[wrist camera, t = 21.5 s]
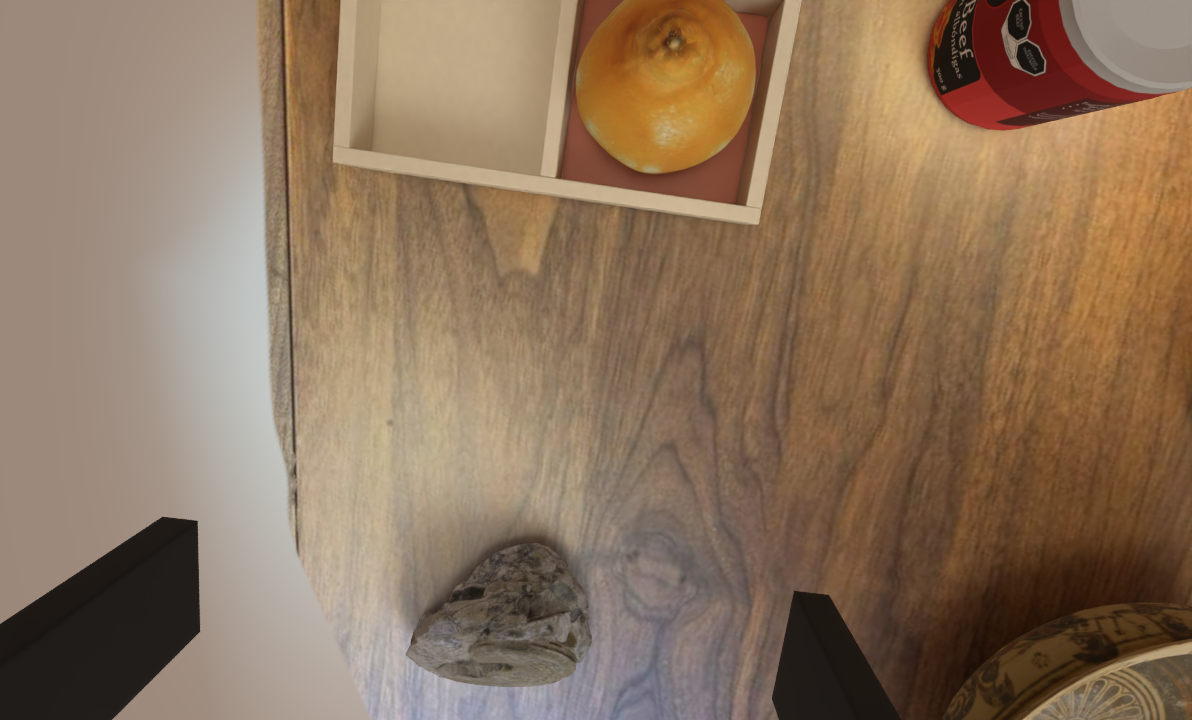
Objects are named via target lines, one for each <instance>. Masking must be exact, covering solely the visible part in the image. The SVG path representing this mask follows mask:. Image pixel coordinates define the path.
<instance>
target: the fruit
mask: <svg viewBox="0 0 1192 720" xmlns="http://www.w3.org/2000/svg"><path fill="white" fill-rule="evenodd" d="M755 76H756V67H755V55H754V49H753V45H752V42H751V39H750V37H749V35H748V33H747V31H746V29H745V27H744V25H743V23H742V22H741V20H740V18H739V17H738V15H737V14H736V13H735V12H734V10H733V9H732V8H731V7H730V6H729V5H728V4H727V3H726V2H725V1H724V0H625V1H623V2H622V3H621V4H620V5H618V6H617V7H616V8H615V9H614V10H613V12H612V13H611V14H610V15H609V16H608V17H607V18H606V20H605V21H603V22H602V23H601V25H600V26H599V27H598V28H597V29H596V31H595V33H594V34H593V36H592V37H591V39H590V41H589V42H588V44H587V46H586V48H585V50H584V52H583V54H582V57H581V59H580V62H579V65H578V68H577V73H576V98H577V106H578V110H579V113H580V116H581V119H582V122H583V124H584V126H585V128H586V130H587V131H588V132H589V133H590V135H591V136H592V137H593V138H594V139H595V140H596V141H597V142H598V144H599V145H600V146H601V147H602V148H603V149H605V150H606V151H607V152H608V153H609V154H610V155H611V156H612V157H614V158H615V159H617V160H618V161H619V162H621V163H622V164H624V165H626V166H628V167H629V168H632V169H634V170H636V171H639V172H643V173H650V174H659V173H668V172H673V171H678V170H683V169H686V168H689V167H692V166H695V165H697V164H700V163H702V162H704V161H706V160H707V159H709V158H711V157H712V156H714V155H715V154H717V153H718V152H720V151H721V150H722V149H724V148H725V147H726V145H727V144H728V143H729V142H730V141H731V140H732V139H733V138H734V136H735V135H736V134H737V132H738V131H739V129H740V127H741V125H742V123H743V121H744V119H745V117H746V115H747V112H748V110H749V107H750V104H751V101H752V97H753V93H754V87H755Z"/></svg>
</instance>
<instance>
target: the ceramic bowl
mask: <svg viewBox="0 0 1192 720" xmlns="http://www.w3.org/2000/svg"><path fill="white" fill-rule="evenodd" d="M941 720H1192V606H1187V605H1179V604H1170V603H1123V604H1113V605H1106V606H1100V607H1095V608H1090V609H1086V610H1082V611H1078V612H1075V613H1072V614H1069V615H1066V616H1063V617H1061V618H1058V619H1055V620H1053V621H1050V622H1047V623H1045V624H1042V625H1040V626H1038V627H1036V628H1035V629H1033V630H1031V631H1029V632H1027V633H1025V634H1023V635H1022V636H1020V637H1018V638H1017V639H1015V640H1013V641H1012V642H1010V643H1009V644H1007V645H1006V646H1004V647H1003V648H1001V649H1000V650H998V651H997V652H996V653H995V654H994V655H992V656H991V657H990V658H989V659H987V660H986V661H985V662H984V663H983V664H982V665H981V666H980V667H979V668H978V669H977V670H976V671H975V672H974V673H973V674H972V675H971V676H970V677H969V678H968V679H967V680H966V682H965V683H964V684H963V685H962V687H961V688H960V689H959V691H958V692H957V693H956V695H955V696H954V697H953V699H952V701H951V703H950V704H949V706H948V708H947V710H946V711H945V713H944V715H943V717H942V719H941Z"/></svg>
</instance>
